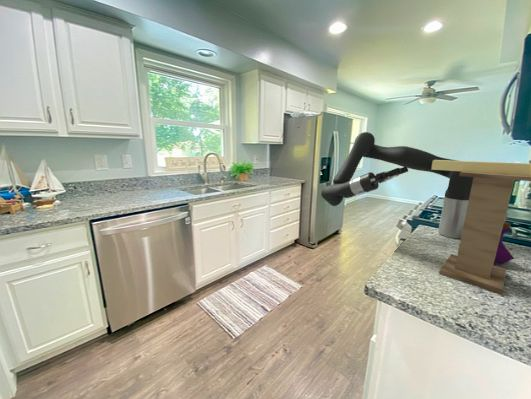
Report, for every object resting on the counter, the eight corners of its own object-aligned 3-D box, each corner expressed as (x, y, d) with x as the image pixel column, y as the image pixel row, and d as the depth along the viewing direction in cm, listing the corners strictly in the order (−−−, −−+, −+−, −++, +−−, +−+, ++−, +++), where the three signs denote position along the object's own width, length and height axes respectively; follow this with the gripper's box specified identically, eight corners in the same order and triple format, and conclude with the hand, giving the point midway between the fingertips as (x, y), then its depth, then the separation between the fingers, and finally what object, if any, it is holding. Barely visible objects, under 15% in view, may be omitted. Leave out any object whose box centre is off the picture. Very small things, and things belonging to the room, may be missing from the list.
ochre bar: (433, 168, 77) (435, 159, 76) (532, 174, 61) (535, 163, 60) (431, 169, 75) (432, 160, 75) (532, 175, 59) (535, 164, 58)
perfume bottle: (512, 267, 76) (526, 215, 72) (486, 265, 78) (498, 214, 74) (495, 257, 83) (507, 209, 79) (471, 255, 85) (482, 208, 81)
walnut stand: (450, 257, 83) (468, 169, 76) (505, 273, 73) (532, 173, 65) (438, 273, 72) (458, 173, 65) (501, 294, 62) (532, 177, 55)
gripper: (352, 177, 93) (393, 160, 81) (367, 174, 103) (406, 159, 91) (359, 194, 92) (401, 180, 80) (373, 190, 102) (413, 177, 90)
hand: (403, 169), depth 86 cm, fingers open, 8 cm apart
